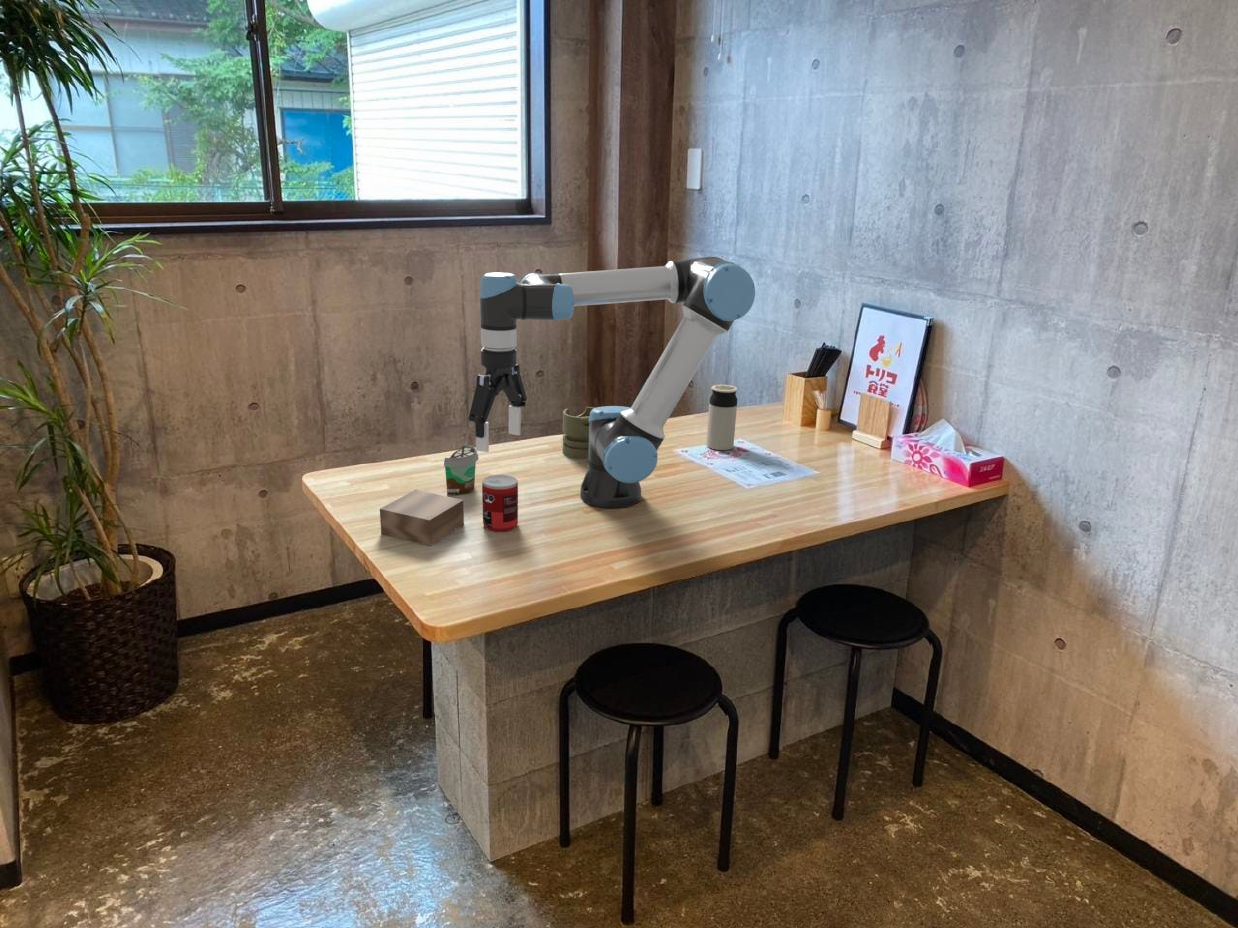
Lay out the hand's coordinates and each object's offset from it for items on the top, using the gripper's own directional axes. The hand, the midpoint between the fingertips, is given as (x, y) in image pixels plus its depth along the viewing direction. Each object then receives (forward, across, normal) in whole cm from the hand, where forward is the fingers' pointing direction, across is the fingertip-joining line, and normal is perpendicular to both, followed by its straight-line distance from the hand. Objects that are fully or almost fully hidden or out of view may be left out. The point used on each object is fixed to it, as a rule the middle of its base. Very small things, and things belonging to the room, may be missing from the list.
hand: (498, 442), depth 194 cm
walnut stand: (+20, +10, -14) cm, 26 cm away
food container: (+20, -15, -19) cm, 31 cm away
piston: (+20, -55, -6) cm, 59 cm away
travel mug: (+20, -80, +27) cm, 87 cm away
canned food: (+20, 0, 0) cm, 20 cm away
